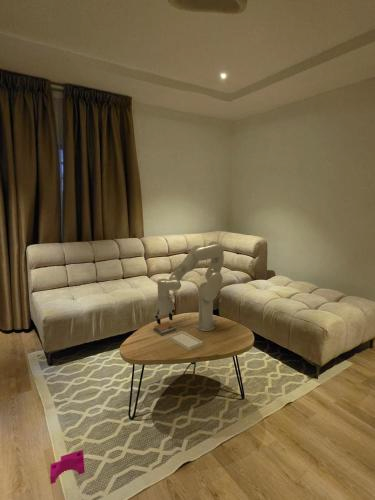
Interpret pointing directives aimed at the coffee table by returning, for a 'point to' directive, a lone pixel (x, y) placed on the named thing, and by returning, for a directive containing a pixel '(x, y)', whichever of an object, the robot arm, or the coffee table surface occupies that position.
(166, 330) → the hinge plinth
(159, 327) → the latch flap
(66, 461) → the toy block
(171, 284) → the robot arm
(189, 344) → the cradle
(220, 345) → the coffee table surface
